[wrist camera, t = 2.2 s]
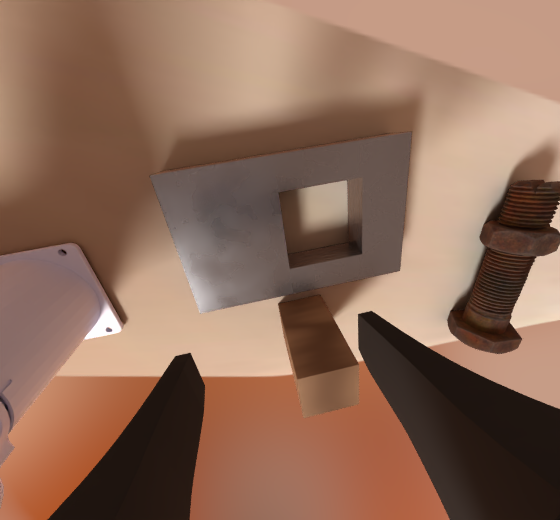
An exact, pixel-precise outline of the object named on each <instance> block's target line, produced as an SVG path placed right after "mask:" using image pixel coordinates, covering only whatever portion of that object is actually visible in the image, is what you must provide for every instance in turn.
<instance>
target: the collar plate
mask: <svg viewBox="0 0 560 520" xmlns="http://www.w3.org/2000/svg"><path fill="white" fill-rule="evenodd" d="M411 137H412V132H400V133H389V134H383V135H377V136H371V137H365V138H359V139H353V140H347V141H341V142H335V143H329V144H323V145H317V146H311V147H305V148H299V149H293V150H287V151H281V152H275V153H269V154H263V155H257V156H251V157H245V158H239V159H233V160H227V161H221V162H215V163H209V164H203V165H197V166H191V167H185V168H179V169H173V170H167V171H161V172H158V173H156V174H153V175H150V178H151V181H152V184H153V187H154V189H155V192H156V195H157V198H158V200H159V203H160V206H161V208H162V211H163V214H164V217H165V219H166V222H167V225H168V227H169V230H170V233H171V236H172V238H173V241H174V244H175V247H176V249H177V252H178V255H179V257H180V260H181V263H182V266H183V268H184V271H185V274H186V276H187V279H188V282H189V285H190V287H191V290H192V293H193V295H194V298H195V301H196V304H197V306H198V309H199V312H200V314H201V313H205V312H210V311H215V310H219V309H224V308H229V307H233V306H238V305H243V304H248V303H252V302H257V301H262V300H266V299H271V298H276V297H280V296H285V295H290V294H294V293H299V292H304V291H308V290H313V289H318V288H322V287H327V286H332V285H337V284H341V283H346V282H351V281H355V280H360V279H365V278H369V277H374V276H379V275H383V274H388V273H393V272H397V271H400V265H401V253H402V241H403V230H404V218H405V206H406V195H407V183H408V171H409V160H410V148H411ZM344 180H347V187H348V235H349V242H348V243H343V244H338V245H333V246H328V247H323V248H318V249H313V250H308V251H303V252H298V253H293V254H287V247H286V240H285V234H284V227H283V220H282V213H281V206H280V199H279V192H283V191H288V190H294V189H299V188H305V187H311V186H316V185H322V184H327V183H333V182H338V181H344Z"/></svg>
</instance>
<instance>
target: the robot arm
mask: <svg viewBox="0 0 560 520" xmlns="http://www.w3.org/2000/svg"><path fill="white" fill-rule="evenodd" d="M61 249H63V250H65V251H66V253H67V254H65V253H63V252H62V250H61ZM108 327H110V328H111V329H109V328H108ZM122 329H123V323H122V322H121V320H120V318H119V316H118V314H117V313H116V311H115V309H114V307H113V306H112V304H111V302H110V300H109V298H108V297H107V295H106V293H105V291H104V289H103V288H102V286H101V284H100V282H99V281H98V279H97V277H96V275H95V273H94V272H93V270H92V268H91V266H90V264H89V263H88V261H87V259H86V257H85V256H84V254H83V252H82V250H81V248H80V247H79V246H78V245H77V244H74V243H66V244H60V245H55V246H49V247H44V248H39V249H33V250H28V251H22V252H17V253H11V254H6V255H0V467H1V466H2V464H3V463H4V461H5V460H6V459H7V457H8V456H9V454H10V453H11V452H12V451H13V449H14V446H13V445H12V444H11V443H10V441H9V439H8V434H9V433H10V432H11V430H12V429H13V428H14V427H15V425H16V424H17V423H18V421H19V420H20V419H21V418H22V416H23V415H24V414H25V413H26V411H27V410H28V409H29V408H30V406H31V405H32V404H33V403H34V401H35V400H36V399H37V398H38V396H39V395H40V394H41V393H42V391H43V390H44V389H45V388H46V386H47V385H48V384H49V382H50V381H51V380H52V379H53V377H54V376H55V375H56V374H57V372H58V371H59V370H60V369H61V367H62V366H63V365H64V364H65V362H66V361H67V360H68V359H69V357H70V356H71V355H72V354H73V352H74V351H75V350H76V349H77V347H78V346H79V345H80V344H81V342H82V341H83V340H86V339H91V338H95V337H100V336H105V335H109V334H114V333H118V332H120V331H121V330H122ZM358 342H359V351H360V353H361V355H362V357H363V359H364V361H365V363H366V366H367V367H368V370H369V371H370V373H371V375H372V377H373V378H374V380H375V382H376V383H377V385H378V386H379V388H380V389H381V391H382V393H383V394H384V396H385V398H386V399H387V401H388V403H389V404H390V406H391V407H392V408H393V411H394V412H395V414H396V415H397V417H398V419H399V420H400V422H401V423H402V425H403V427H404V428H405V430H406V432H407V434H408V436H409V438H410V439H411V441H412V443H413V445H414V447H415V449H416V451H417V453H418V455H419V457H420V459H421V461H422V463H423V465H424V466H425V469H426V471H427V473H428V475H429V477H430V479H431V481H432V483H433V485H434V487H435V489H436V491H437V493H438V495H439V497H440V499H441V502H442V504H443V505H444V508H445V510H446V512H447V514H448V516H449V518H450V520H560V409H558V408H555V407H553V406H550V405H547V404H545V403H542V402H540V401H537V400H535V399H532V398H530V397H527V396H525V395H523V394H520V393H518V392H516V391H514V390H511V389H509V388H507V387H504V386H502V385H500V384H497V383H495V382H493V381H491V380H489V379H487V378H484V377H482V376H480V375H478V374H476V373H474V372H472V371H470V370H468V369H466V368H464V367H462V366H460V365H458V364H456V363H454V362H453V361H451V360H449V359H447V358H445V357H444V356H442V355H440V354H438V353H437V352H435V351H433V350H431V349H430V348H428V347H426V346H425V345H423V344H421V343H420V342H418V341H417V340H415V339H413V338H412V337H410V336H409V335H407V334H405V333H404V332H402V331H401V330H399V329H398V328H396V327H395V326H393V325H392V324H390V323H389V322H387V321H386V320H384V319H383V318H381V317H380V316H378V315H377V314H375V313H374V312H372V311H369V312H365V313H361V314H358ZM204 394H205V385H204V382H203V380H202V378H201V376H200V373H199V371H198V369H197V367H196V364H195V362H194V360H193V358H192V355H191V353H187V354H183V355H179V356H175V358H174V359H173V360H172V362H171V363H170V365H169V366H168V368H167V369H166V371H165V372H164V374H163V375H162V377H161V378H160V380H159V381H158V383H157V384H156V386H155V387H154V389H153V390H152V392H151V393H150V395H149V396H148V398H147V399H146V400H145V402H144V403H143V405H142V406H141V408H140V409H139V410H138V412H137V413H136V415H135V416H134V417H133V419H132V420H131V422H130V423H129V424H128V425H127V427H126V428H125V430H124V431H123V432H122V434H121V435H120V436H119V438H118V439H117V440H116V442H115V443H114V444H113V445H112V447H111V448H110V449H109V451H108V452H107V453H106V454H105V455H104V456H103V458H102V459H101V460H100V461H99V463H98V464H97V465H96V466H95V467H94V468H93V470H92V471H91V472H90V473H89V474H88V476H87V477H86V478H85V479H84V480H83V481H82V482H81V484H80V485H79V486H78V487H77V488H76V489H75V490H74V491H73V492H72V494H71V495H70V496H69V497H68V498H67V499H66V500H65V501H64V502H63V503H62V504H61V505H60V507H59V508H58V509H57V510H56V511H55V512H54V513H53V514H52V515H51V516H50V518H49V519H48V520H189V518H190V505H191V493H192V486H193V477H194V471H195V465H196V459H197V452H198V447H199V440H200V434H201V427H202V421H203V414H204V399H205V398H204V397H205V395H204ZM3 489H4V487H3V484H2V481H1V478H0V508H1V504H2V500H3V495H4V494H3V492H4V491H3Z"/></svg>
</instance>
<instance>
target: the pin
mask: <svg viewBox="0 0 560 520" xmlns="http://www.w3.org/2000/svg"><path fill="white" fill-rule="evenodd" d="M278 306H279V312H280V317H281V323H282V328H283V334H284V338H285V343H286V347H287V351H288V355H289V359H290V363H291V368H292V372H293V376H294V380H295V384H296V388H297V392H298V396H299V401H300V405H301V409H302V413H303V417H304V418H306V417H310V416H314V415H318V414H322V413H326V412H330V411H334V410H338V409H342V408H346V407H350V406H354V405H358V404H359V364H358V362H357V360H356V358H355V357H354V355H353V353H352V351H351V349H350V347H349V346H348V344H347V342H346V340H345V338H344V337H343V335H342V333H341V331H340V329H339V327H338V326H337V324H336V322H335V320H334V318H333V317H332V315H331V313H330V311H329V309H328V308H327V306H326V304H325V302H324V300H323V298H322V297H321V295H317V296H312V297H308V298H303V299H298V300H294V301H289V302H284V303H280V304H278Z"/></svg>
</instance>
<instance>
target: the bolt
mask: <svg viewBox="0 0 560 520" xmlns="http://www.w3.org/2000/svg"><path fill="white" fill-rule="evenodd" d="M510 186H511V187H512V188H510V189H508V190H509V191H510V192H508V193H507V194H508V195H509V196H506V197H505V198H506V199H507V200H505V201H504V202H505V203H506V204H504V205H503V206H504V208H502V209H501V210H502V211H503V212H501V213H500V214H501V216H499V217H498V218H499V219H500V220H492V221H489V222H487V223H485V224H484V225H483V228H482V231H481V234H480V240H481V242H482V244H483V245H485V246H487V247H489V249H487V251H488V252H486V256H484V257H485V259H484V260H483V261H484V262H483V263H482V264H483V265H482V266H481V269H480V272H479V275H478V278H477V279H476V280H477V281H476V282H475V285H474V288H473V291H472V294H471V297H470V300H469V302H467V305H466V308H465V309H464V310H455V311H450V314H449V317H448V320H447V321H448V327H449V330H450V332H451V333H452V334H453V335H454V336H455V337H456V338H458V339H459V340H460V341H461V342H463V343H464V344H466V345H468V346H470V347H472V348H475V349H478V350H482V351H485V352H490V353H497V354H502V353H507V352H510V351H513V350H515V349H517V348H518V347H519V344H520V343H521V340H522V338H521V337H520V335H519V334H518V333H517V331H516V330H515V329H514V327H513V326H512V325H511V324H510V319H511V317H512V316H511V313H512V311H513V308H514V306H515V303H516V301H517V300H518V297H519V296H520V295H519V294H520V293H521V291H522V288H523V286H524V284H525V281H526V280H527V277H528V273H529V271H530V269H531V266H532V265H533V262H534V261H535V260H534V259H535V258H536V256H545V255H548V254H550V253H552V252H555V251H557V249H558V246H559V244H560V233H559V231H558V230H557V229H555V228H553V227H550V224H549V223H551V222H552V220H551V219H553V217H554V216H553V214H555V213H556V212H555V211H554V210H556V209H558V208H557V207H556V206H557V205H559V204H560V203H559V202H558V201H560V181H557V182H546V183H545V182H544V180H527V181H517V182H516V183H515V184H512V185H510Z"/></svg>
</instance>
